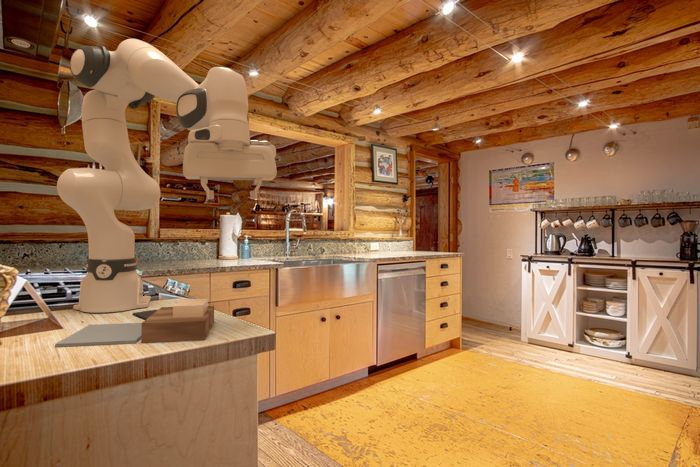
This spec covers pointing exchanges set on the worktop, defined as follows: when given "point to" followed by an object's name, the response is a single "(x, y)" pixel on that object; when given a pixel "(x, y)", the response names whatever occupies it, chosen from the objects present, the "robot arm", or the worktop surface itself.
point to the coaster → (190, 308)
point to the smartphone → (144, 314)
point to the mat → (104, 335)
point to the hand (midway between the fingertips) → (232, 199)
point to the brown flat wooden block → (176, 326)
